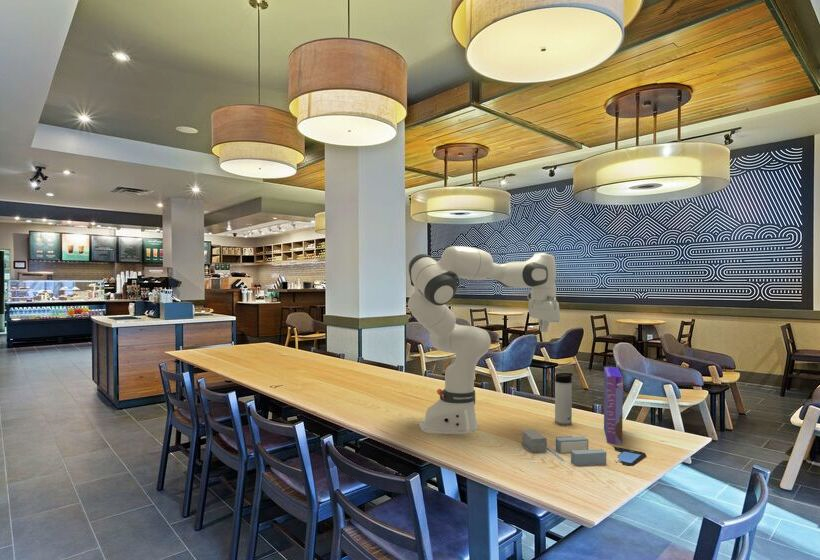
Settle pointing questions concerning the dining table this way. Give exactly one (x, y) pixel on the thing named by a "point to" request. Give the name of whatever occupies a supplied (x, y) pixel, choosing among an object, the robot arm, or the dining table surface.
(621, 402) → the cereal box
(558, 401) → the travel mug
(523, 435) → the steel block
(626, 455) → the game console
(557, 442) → the block
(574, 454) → the vise
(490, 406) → the dining table surface
